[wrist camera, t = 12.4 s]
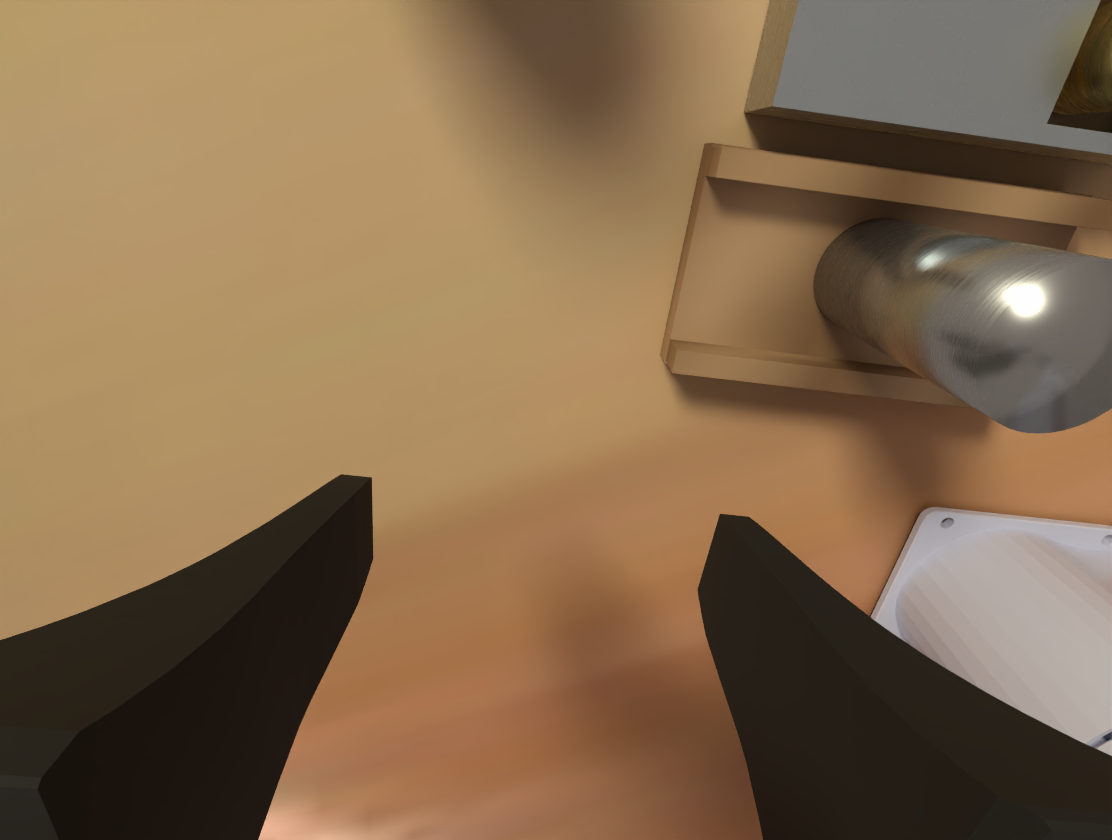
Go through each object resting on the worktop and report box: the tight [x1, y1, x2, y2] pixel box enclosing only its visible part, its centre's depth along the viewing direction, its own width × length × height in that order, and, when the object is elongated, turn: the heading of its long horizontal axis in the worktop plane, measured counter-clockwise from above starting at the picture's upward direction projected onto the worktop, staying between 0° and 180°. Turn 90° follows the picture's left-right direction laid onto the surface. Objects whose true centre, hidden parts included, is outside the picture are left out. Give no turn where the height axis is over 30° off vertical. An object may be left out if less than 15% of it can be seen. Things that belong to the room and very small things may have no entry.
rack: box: [660, 143, 1112, 408], centre depth 19 cm, size 12×7×2 cm, turn 83°
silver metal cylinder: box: [813, 218, 1112, 433], centre depth 15 cm, size 4×4×8 cm
